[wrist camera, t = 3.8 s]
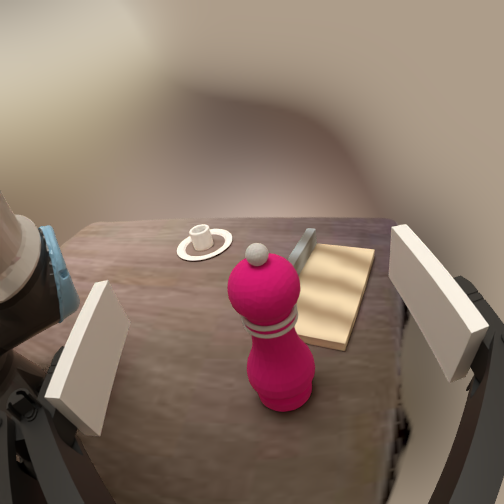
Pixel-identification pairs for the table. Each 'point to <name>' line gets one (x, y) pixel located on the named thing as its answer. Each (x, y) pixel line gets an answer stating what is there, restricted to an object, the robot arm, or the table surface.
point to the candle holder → (203, 242)
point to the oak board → (329, 289)
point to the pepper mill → (272, 328)
